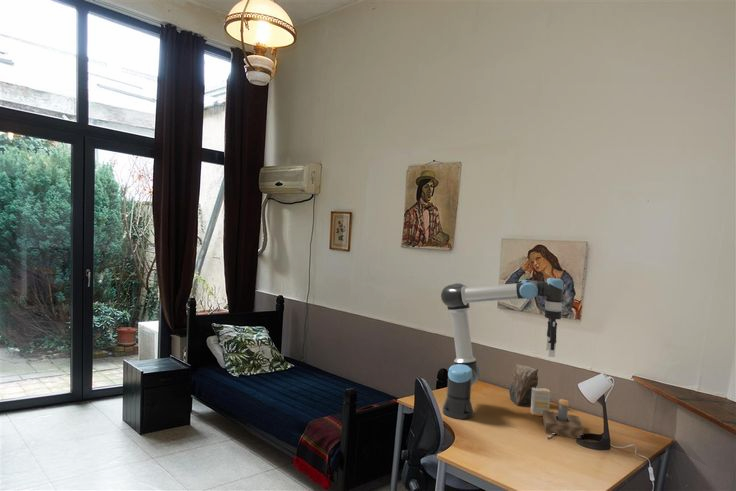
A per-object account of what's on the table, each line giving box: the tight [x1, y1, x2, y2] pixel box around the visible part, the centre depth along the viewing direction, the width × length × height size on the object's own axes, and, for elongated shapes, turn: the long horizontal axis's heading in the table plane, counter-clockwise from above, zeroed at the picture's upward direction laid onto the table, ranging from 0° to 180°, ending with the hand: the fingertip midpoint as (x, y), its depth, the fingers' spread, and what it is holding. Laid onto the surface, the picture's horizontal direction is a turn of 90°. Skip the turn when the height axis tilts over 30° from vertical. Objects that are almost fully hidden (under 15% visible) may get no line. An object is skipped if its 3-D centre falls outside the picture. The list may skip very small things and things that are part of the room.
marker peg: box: [557, 398, 569, 422], centre depth 217 cm, size 4×4×14 cm
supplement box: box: [530, 387, 551, 417], centre depth 235 cm, size 8×5×13 cm, turn 84°
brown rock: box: [508, 363, 539, 407], centre depth 252 cm, size 13×13×20 cm
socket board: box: [542, 410, 584, 439], centre depth 217 cm, size 16×16×5 cm
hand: (550, 353), depth 222 cm, fingers open, 13 cm apart
